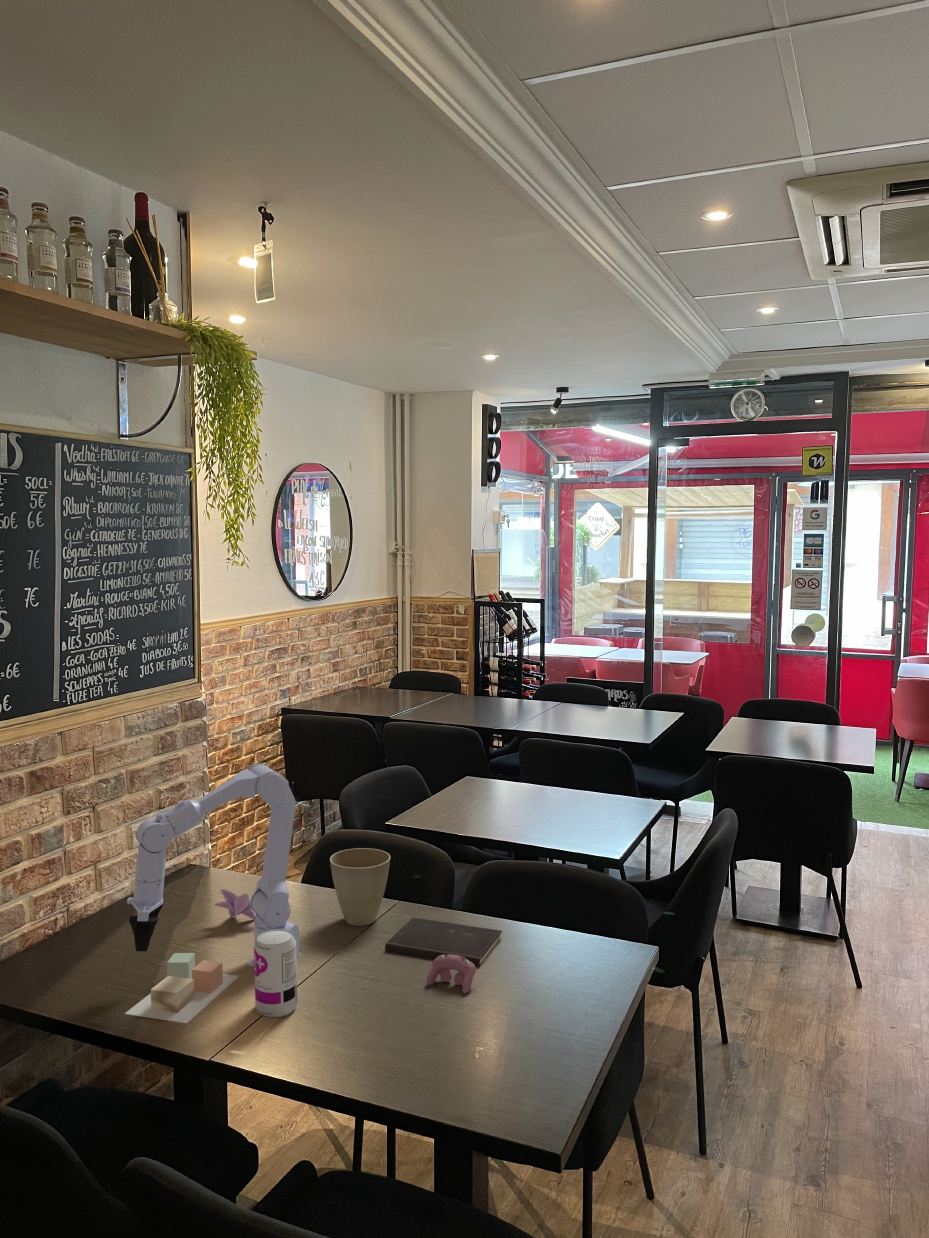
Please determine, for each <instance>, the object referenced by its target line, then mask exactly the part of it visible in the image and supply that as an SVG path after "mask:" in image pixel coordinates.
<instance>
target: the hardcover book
mask: <svg viewBox="0 0 929 1238" xmlns="http://www.w3.org/2000/svg"><path fill="white" fill-rule="evenodd" d="M502 933H503V931H502V930H499V929H493V928H487V927H486V928H485V927H481V926H474V925H473V926H472V925H466V924H459V923H452V922H446V921H440V920H433V919H426V918H420V917H411V919H410V920H409V921H408V922H406V924H404V925H403V926H402V927H401V928H400V929H399V930H398V931H397V932H396V933H395V934H394V935H393V936H392V937H391V938H389V940H388V941H386V943H385V945H384V951H385V952H386V953H392V954H393V953H394V954H398V955H404V956H411V957H417V958H423V959H429V960H433V961H434V960H435V959H436V958H437V957H438V956H440V955H448V954H451V955H458V956H461V957H464V958H466V959H467V960H469V961H470V962H472V963H473V964H474V965H475V968H476V967H477V968H480V967H481V964H482V963H483V962H484V960H486V958H487V957H488V955H489V954H490V953H491V951H492V950H493V949H494V948H495V946H496V945H497V943H499V941H500V939H501V934H502Z"/></svg>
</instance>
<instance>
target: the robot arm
mask: <svg viewBox="0 0 929 1238" xmlns="http://www.w3.org/2000/svg"><path fill="white" fill-rule="evenodd" d="M289 783H290V782H289V780H287V778H285V777H284V776H283V775H282V773H279V772H278V771H275V770H273V769H271V768H270V767H269V766H268V765H266V764H264V763H255V764H252V765H251V766H249V767H248V768H245V769H243V770H240V771H239V772H238V773H237V774H236V775H234V776H233V777H231V778H230V779H228V780H227V781H224V783H222V784H220V785H219V786H217V787H216V788H214V789H213V790H211V791H210V792H208V793H207V794H204V795H203V796H202V797H200V798H199V799H197V800H195V799H194V800H193V799H186V800H185V801H184V800H183V799H180V800H178V801H177V802H176V804H177V805H175V806H173V807H172V808H171V809H168V810H167V811H165V812H162V813H161V812H159V813H157V814H155V818H147V819H145V820H143V821H142V822H141V823H140V824H139V826H138V827H137V829H136V831H135V837H136V841H137V842H138V845H137V846H138V849H137V856H136V864H135V865H136V866H135V876H134V878H135V879H134V886H133V887H134V888H133V897H128V898H127V901H126V904H128V905H132V906H133V907H134V909H135V911H136V912H137V915H130V916H129V917H128V923H129V925H130V927H131V929H132V933H133V938H134V946H135V951H136V952H148V949H149V946H150V942H151V939H152V936H153V934H154V931H155V929H156V925H157V923H158V922H159V920H160V919H159V917H158V916H159V913H160V911H161V910H162V908H163V906H164V904H165V900H164V898H163V896H164V888H165V887H164V885H165V884H164V883H165V872H166V864H167V863H166V861H167V856H166V855H167V849H168V848H169V846H170V845H171V842H172V840H173V839H177V837H179V836H181V835H183V834H185V833H186V832H188V831H190V830H191V829H193V828H194V827H197V826H198V825H200V824H201V823H202V822H203V819H204V817H205V815H206V814H208V813H210V812H212V811H214V810H216V809H217V808H220V807H222V806H223V805H226V804H227V803H230V802H232V801H234V800H235V799H237V798H249V799H256V794H257V795H258V797H260V798H261V799H262V800H264V802H265V803H266V804H267V805H268V806H269V807H270V815H269V823H268V829H267V830H268V831H267V838H266V845H265V852H264V859H263V867H262V873H261V878H259V880H258V881H257V882H256V888H255V891H254V892H253V894H252V895H251V898H250V900H251V902H250V904H251V908H252V910H251V911H252V912H253V913H254V914H255V920H254V919H253V921H254V922H253V925H254V927H253V928H254V943H255V942H256V940H257V937H258V936H259V935H260V934H261V933H263V932H266V931H269V930H275V929H283V930H288V931H290V932H291V933H292V934H293V937H294V939H295V940H296V961H297V960H298V959H299V958H300V957H301V956H302V953H301V952H300V951H301V949H300V947H301V946H300V942H301V941H300V928H299V926H298V925H297V924H294V923H292V922H291V921H288V920H289V919H290V916H291V911H292V908H291V905H290V902H289V896H290V893H289V889H288V885H287V882H286V879H287V874H288V873H287V872H288V867H289V860H290V859H289V857H290V851H291V842H292V836H293V828H294V823H295V822H294V821H295V813H296V808H297V807H296V806H297V803H296V799H295V797H294V794H293V791H292V790H291V788H290V785H289ZM247 966H251V967H254V957H253V958H252V959H250V961H249V962H248V963H247Z"/></svg>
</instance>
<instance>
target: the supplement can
mask: <svg viewBox="0 0 929 1238" xmlns="http://www.w3.org/2000/svg"><path fill="white" fill-rule="evenodd" d="M253 958H254V966H253V967H254V968H253V969H254V993H255V994H254V997H255V998H254V999H255V1000H254V1001H255V1004H254V1005H255V1011H256V1012H257V1013H258V1014H259V1015H262V1016H264V1017H267V1018H268V1017H270V1018H276V1017H277V1018H278V1019H280V1018H282V1017H286V1016H288V1015H290V1014H292V1012H293V1011H294V1010H295V1009H296V1008H297V1007H298V969H297V967H298V966H297V963H298V962H297V960H296V940H295V939H294V937H293V934H292V933H291V932H290V931H288V930H283V929H275V930H269V931H266V932H263V933H261V934H260V935H259V936H258V937H257V940H256V942H255V941H254V946H253Z"/></svg>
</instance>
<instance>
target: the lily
mask: <svg viewBox="0 0 929 1238" xmlns="http://www.w3.org/2000/svg"><path fill="white" fill-rule="evenodd" d="M219 891H220V892H221V894H222V896H223V898H224V900H225V901H220V902H216V903H214V906H216V907H218V908H219V907H220V908H224V909H227V910H228V914H229V917H230V918H234V920H233V927H232V929H233V930H232V932H235V930H236V929H235V927H236V926H235V925H236V920H237V917H238V916H239V915H243V916H244V915H245V916H246V917H248V918H250V919H252V920H254V919H255V917H256V914H255V912H254V911H253V910H252V908H251V904H250V902H251V899H250V897H249V894H248V893H243V894H241V895H239V896H238V895H237V894H235V893H234V892H232V891H230V890H228V889H225V888H220V889H219Z"/></svg>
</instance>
